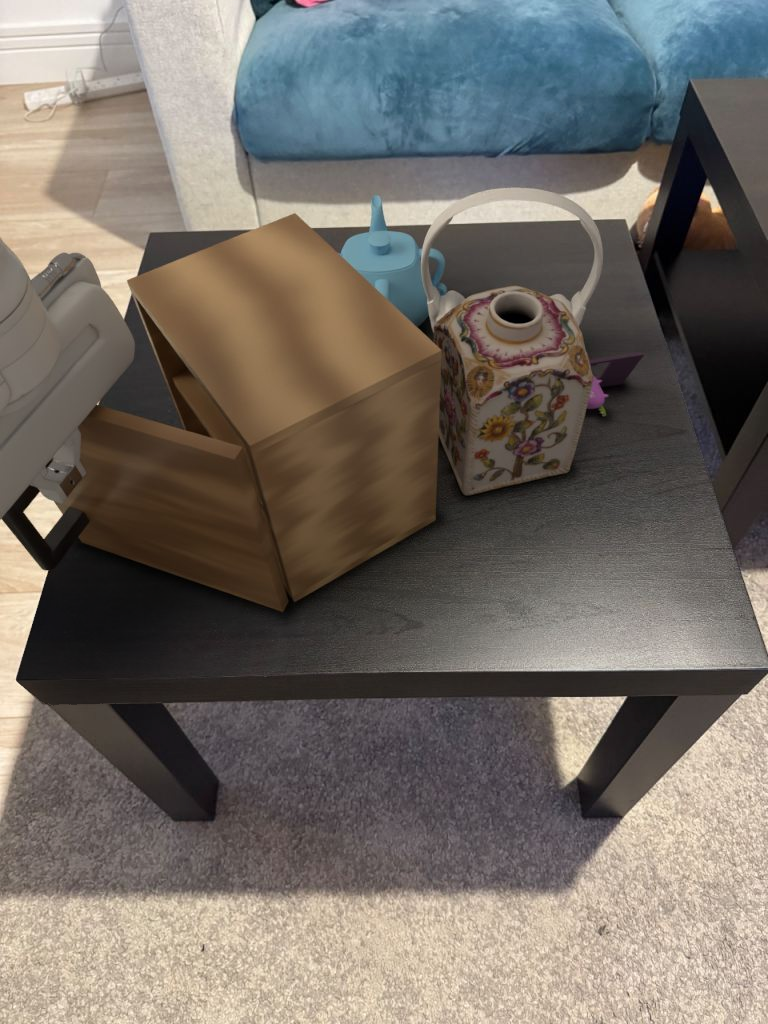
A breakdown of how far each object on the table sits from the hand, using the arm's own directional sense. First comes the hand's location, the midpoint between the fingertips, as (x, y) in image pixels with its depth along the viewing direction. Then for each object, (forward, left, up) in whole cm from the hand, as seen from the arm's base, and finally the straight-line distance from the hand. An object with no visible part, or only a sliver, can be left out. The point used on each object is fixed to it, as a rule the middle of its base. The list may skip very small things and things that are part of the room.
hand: (66, 486), depth 53 cm
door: (+2, -1, -18) cm, 18 cm away
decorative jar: (+39, -4, -18) cm, 43 cm away
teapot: (+41, +21, -18) cm, 49 cm away
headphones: (+48, +7, -18) cm, 51 cm away
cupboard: (+20, +3, -18) cm, 27 cm away
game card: (+51, -5, -18) cm, 54 cm away
